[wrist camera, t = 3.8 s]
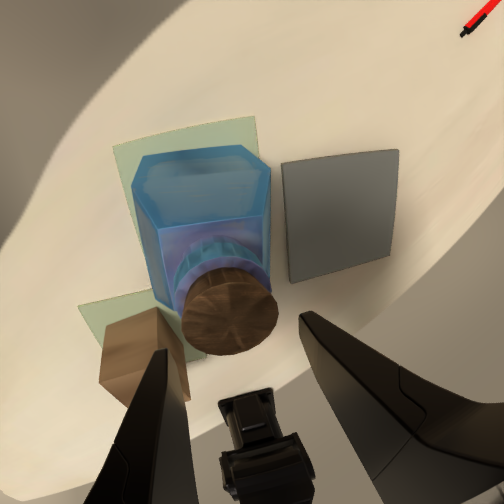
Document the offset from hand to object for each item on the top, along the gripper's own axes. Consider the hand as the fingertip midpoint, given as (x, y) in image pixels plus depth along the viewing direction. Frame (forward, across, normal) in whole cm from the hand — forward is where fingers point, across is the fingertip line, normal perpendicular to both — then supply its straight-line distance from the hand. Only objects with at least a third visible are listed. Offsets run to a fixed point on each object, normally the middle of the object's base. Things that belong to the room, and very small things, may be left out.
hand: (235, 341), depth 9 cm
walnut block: (+13, +7, +11) cm, 18 cm away
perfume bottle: (+13, 0, 0) cm, 13 cm away
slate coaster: (+13, -11, +4) cm, 17 cm away
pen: (+14, -33, -18) cm, 40 cm away
